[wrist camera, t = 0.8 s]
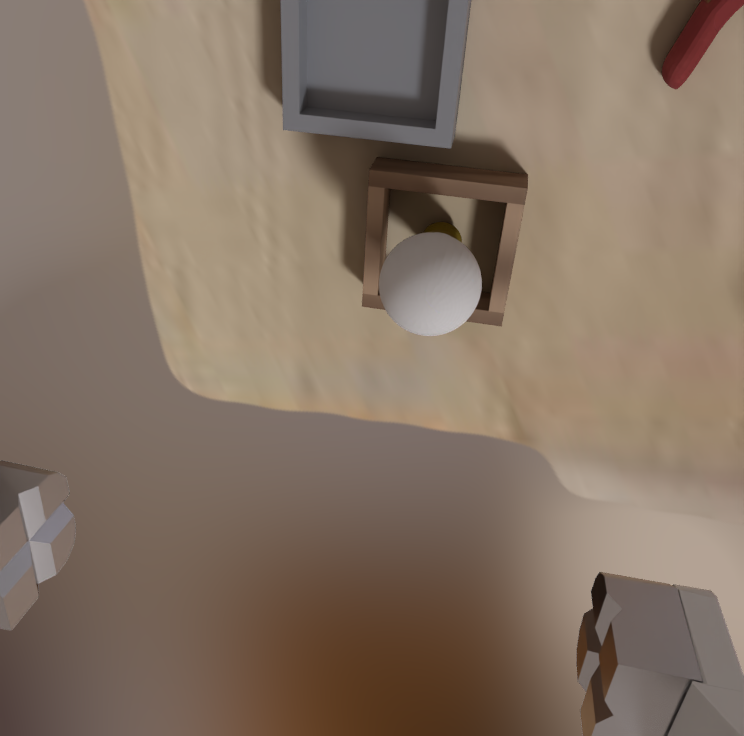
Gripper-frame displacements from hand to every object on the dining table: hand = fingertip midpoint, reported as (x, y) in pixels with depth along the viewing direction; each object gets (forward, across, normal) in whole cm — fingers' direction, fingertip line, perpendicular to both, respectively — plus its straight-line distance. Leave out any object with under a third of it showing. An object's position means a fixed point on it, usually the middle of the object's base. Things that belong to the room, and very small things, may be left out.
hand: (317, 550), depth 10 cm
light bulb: (+37, +1, +7) cm, 37 cm away
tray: (+35, +6, -5) cm, 36 cm away
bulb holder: (+37, +1, +7) cm, 37 cm away
